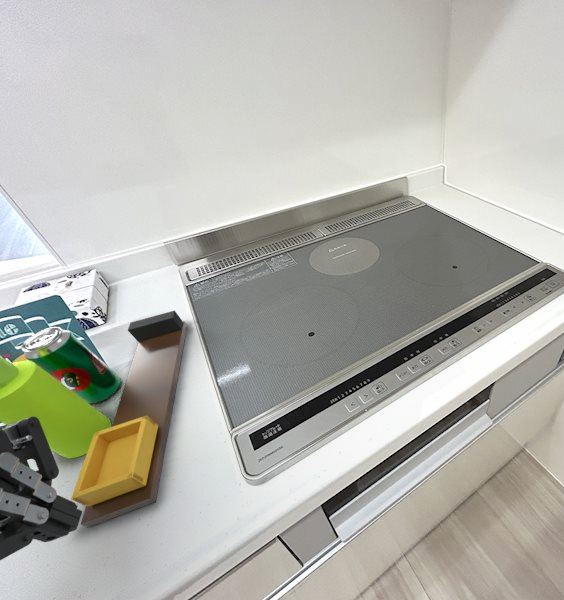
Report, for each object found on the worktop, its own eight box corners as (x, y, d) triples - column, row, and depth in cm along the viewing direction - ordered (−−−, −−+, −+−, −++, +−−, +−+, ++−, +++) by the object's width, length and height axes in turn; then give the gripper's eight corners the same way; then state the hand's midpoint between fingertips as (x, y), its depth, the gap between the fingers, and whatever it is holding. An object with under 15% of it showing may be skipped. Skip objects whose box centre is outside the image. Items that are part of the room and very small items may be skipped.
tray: (146, 485, 38) (132, 477, 37) (87, 507, 37) (70, 499, 35) (158, 425, 44) (147, 415, 42) (108, 442, 43) (94, 432, 41)
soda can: (129, 384, 52) (71, 332, 44) (94, 410, 48) (25, 359, 40) (113, 372, 54) (55, 320, 46) (78, 396, 51) (10, 345, 43)
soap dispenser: (108, 404, 49) (-16, 305, 36) (113, 438, 45) (-26, 340, 32) (60, 429, 47) (-93, 334, 33) (61, 468, 42) (-114, 376, 29)
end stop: (182, 329, 58) (173, 317, 56) (138, 342, 57) (127, 330, 55) (183, 322, 60) (174, 310, 58) (141, 334, 58) (130, 322, 56)
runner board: (155, 501, 38) (149, 498, 38) (87, 527, 37) (80, 524, 36) (187, 325, 61) (184, 320, 60) (145, 337, 59) (141, 332, 58)
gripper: (-140, 376, 24) (51, 471, 35) (-395, 619, 14) (-18, 639, 26) (-14, 343, 25) (130, 445, 37) (-168, 542, 16) (91, 594, 27)
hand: (68, 525), depth 31 cm, fingers closed
